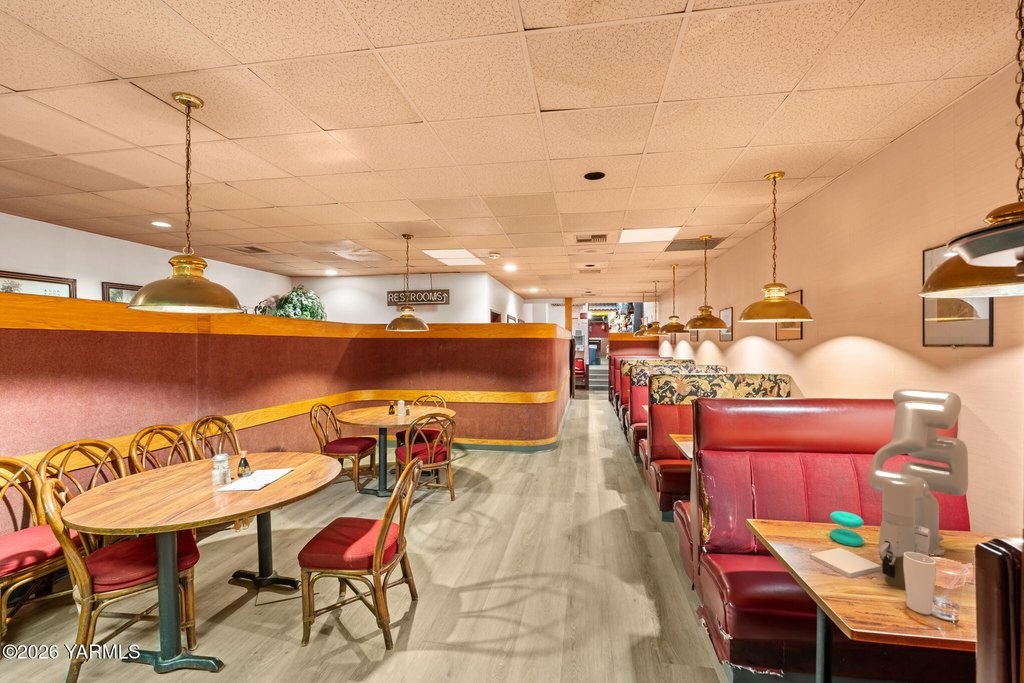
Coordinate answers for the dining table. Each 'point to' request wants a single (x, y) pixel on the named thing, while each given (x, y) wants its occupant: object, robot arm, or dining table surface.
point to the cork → (897, 574)
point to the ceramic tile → (845, 562)
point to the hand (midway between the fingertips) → (897, 573)
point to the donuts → (844, 534)
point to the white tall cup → (919, 581)
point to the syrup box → (922, 540)
